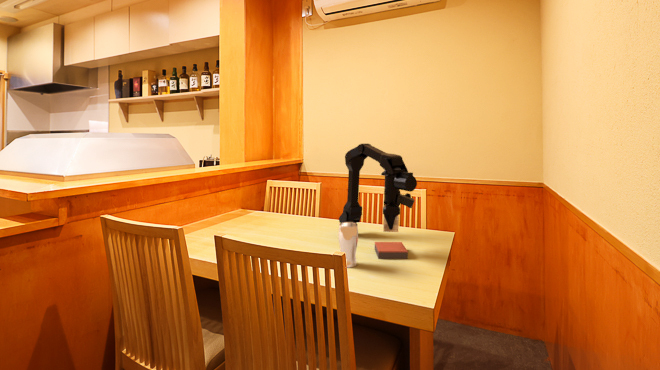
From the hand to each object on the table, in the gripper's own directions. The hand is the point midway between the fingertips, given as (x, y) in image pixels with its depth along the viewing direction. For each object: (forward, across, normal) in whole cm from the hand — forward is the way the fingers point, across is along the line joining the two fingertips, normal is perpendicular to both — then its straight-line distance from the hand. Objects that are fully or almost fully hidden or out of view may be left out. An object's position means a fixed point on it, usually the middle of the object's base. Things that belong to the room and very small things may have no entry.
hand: (390, 227), depth 129 cm
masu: (+1, 0, 0) cm, 1 cm away
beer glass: (+11, -14, +15) cm, 23 cm away
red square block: (+11, 0, 0) cm, 11 cm away
